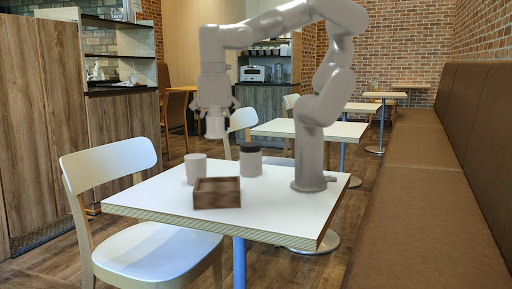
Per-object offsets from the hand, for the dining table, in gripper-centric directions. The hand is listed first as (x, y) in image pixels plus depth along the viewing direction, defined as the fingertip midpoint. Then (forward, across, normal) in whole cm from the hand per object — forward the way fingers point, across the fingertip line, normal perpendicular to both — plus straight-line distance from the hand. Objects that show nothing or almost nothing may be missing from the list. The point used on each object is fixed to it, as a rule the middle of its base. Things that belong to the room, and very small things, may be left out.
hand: (215, 129), depth 108 cm
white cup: (+23, +9, -18) cm, 30 cm away
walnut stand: (+23, 0, 0) cm, 23 cm away
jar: (+23, -11, -26) cm, 36 cm away
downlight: (+2, 0, 0) cm, 2 cm away
